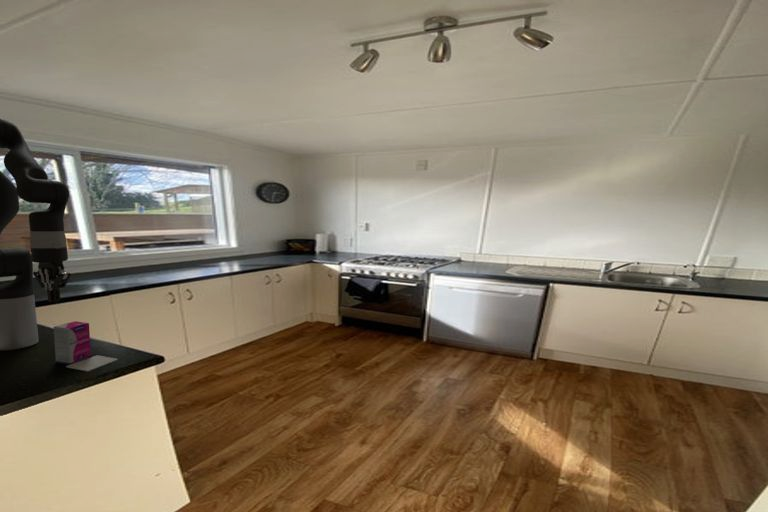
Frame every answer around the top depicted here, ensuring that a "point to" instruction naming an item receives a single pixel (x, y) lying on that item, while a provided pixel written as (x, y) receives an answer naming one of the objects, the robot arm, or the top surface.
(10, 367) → the top surface
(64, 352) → the supplement box
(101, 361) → the mat
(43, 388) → the top surface
